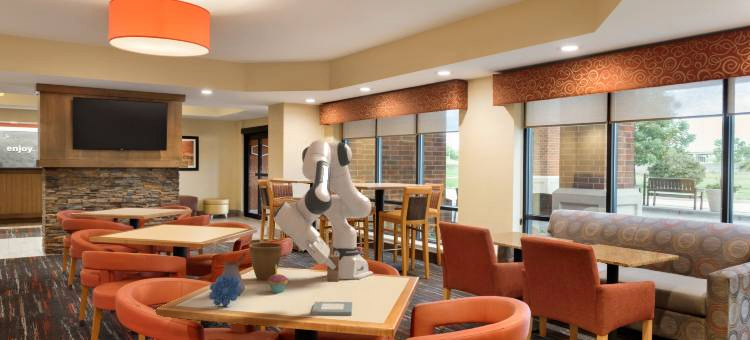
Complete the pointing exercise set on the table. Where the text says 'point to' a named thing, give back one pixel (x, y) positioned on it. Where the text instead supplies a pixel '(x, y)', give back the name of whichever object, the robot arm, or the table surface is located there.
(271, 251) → the plant pot
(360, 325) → the table surface
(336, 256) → the walnut block
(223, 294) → the grapes
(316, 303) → the plate
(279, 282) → the cupcake
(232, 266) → the coffee pot
